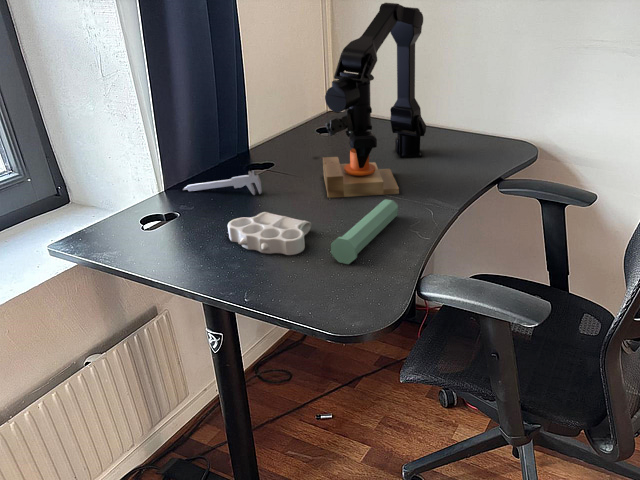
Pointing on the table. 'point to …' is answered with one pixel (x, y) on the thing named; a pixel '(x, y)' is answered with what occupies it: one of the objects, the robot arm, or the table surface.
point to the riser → (356, 181)
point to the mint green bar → (363, 232)
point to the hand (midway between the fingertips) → (360, 164)
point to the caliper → (231, 183)
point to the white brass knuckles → (269, 233)
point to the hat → (354, 167)
